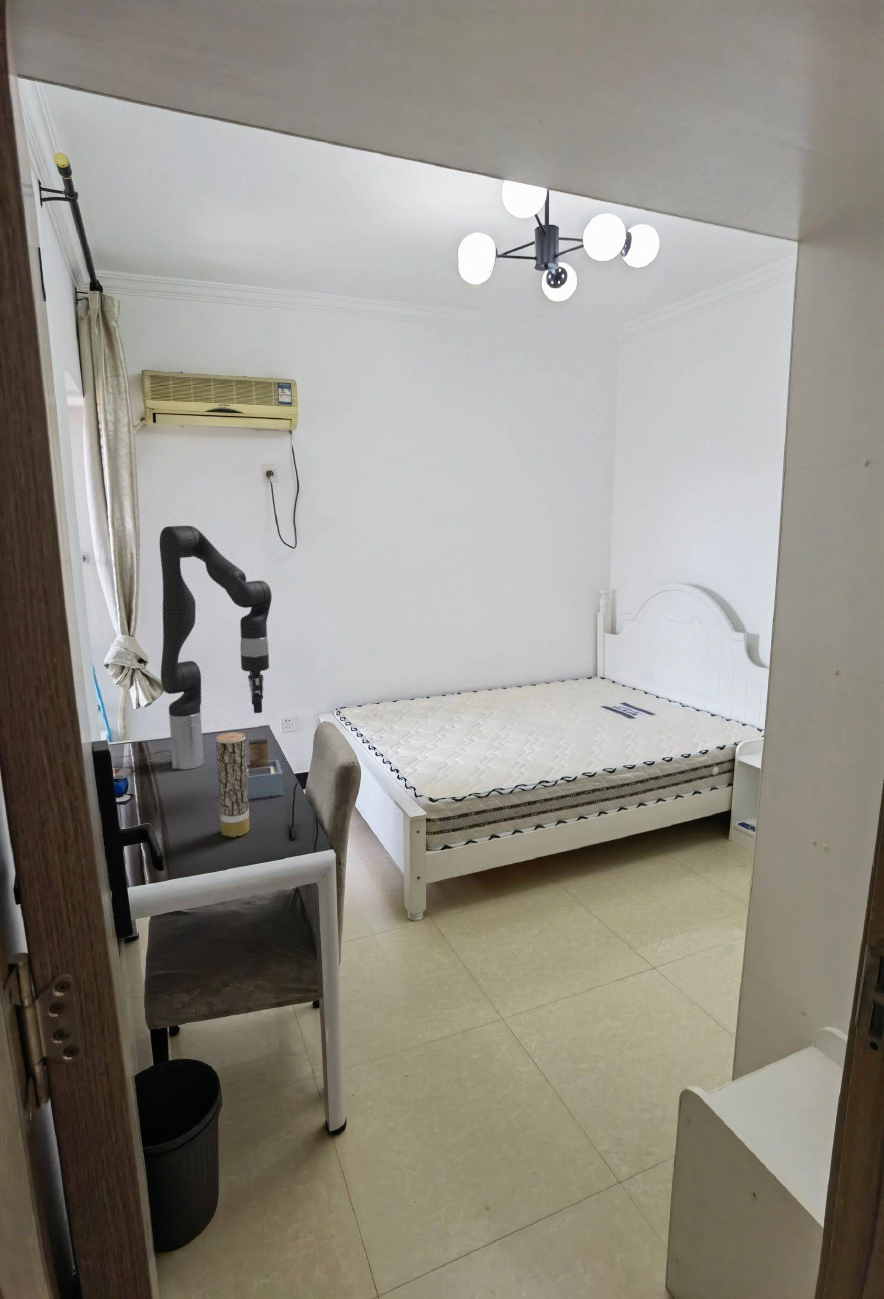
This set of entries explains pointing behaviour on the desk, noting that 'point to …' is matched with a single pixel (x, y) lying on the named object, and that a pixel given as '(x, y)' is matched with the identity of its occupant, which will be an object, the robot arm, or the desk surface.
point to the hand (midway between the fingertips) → (256, 708)
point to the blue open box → (265, 780)
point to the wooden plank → (258, 753)
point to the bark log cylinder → (232, 784)
